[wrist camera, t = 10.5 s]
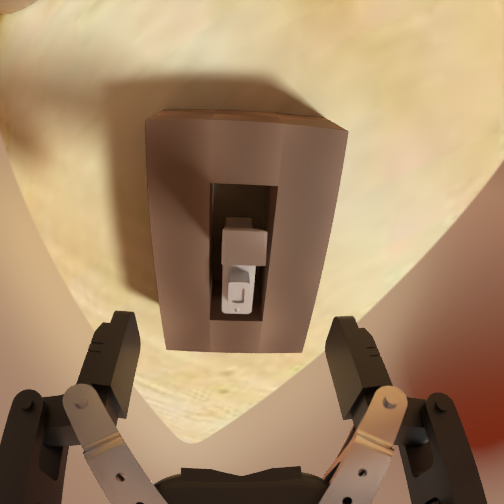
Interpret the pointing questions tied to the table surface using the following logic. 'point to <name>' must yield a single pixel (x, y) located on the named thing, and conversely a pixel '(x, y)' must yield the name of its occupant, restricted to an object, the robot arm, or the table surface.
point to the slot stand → (275, 223)
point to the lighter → (240, 263)
